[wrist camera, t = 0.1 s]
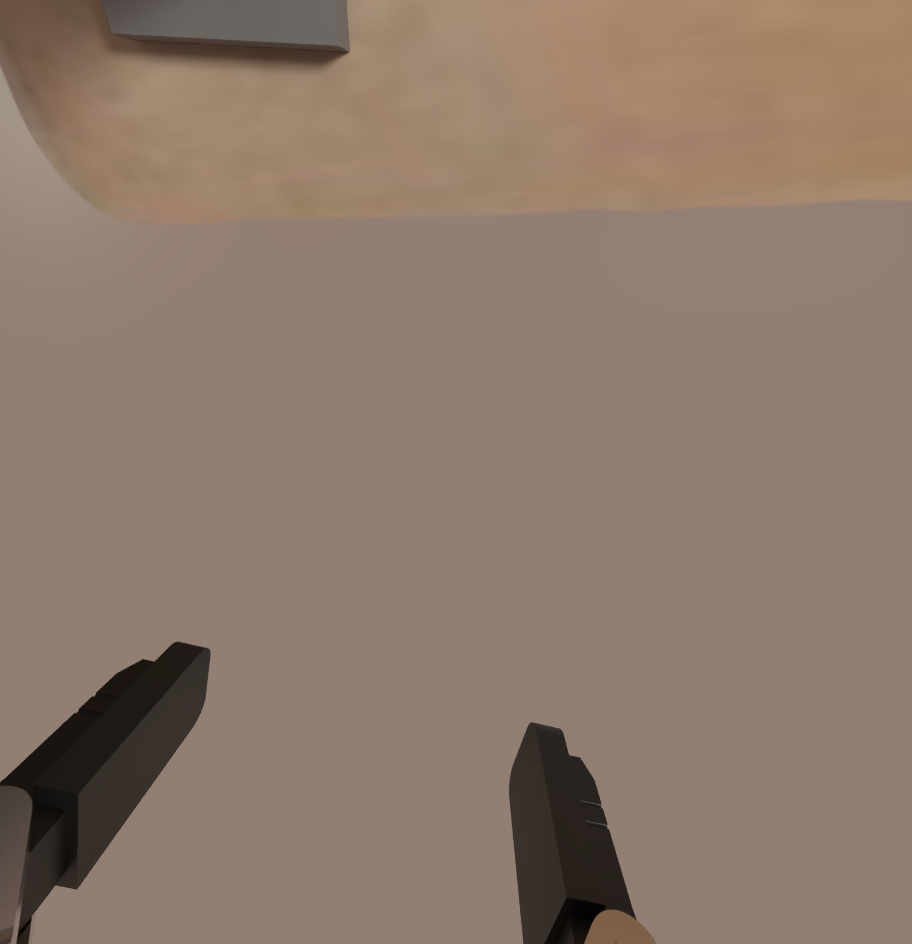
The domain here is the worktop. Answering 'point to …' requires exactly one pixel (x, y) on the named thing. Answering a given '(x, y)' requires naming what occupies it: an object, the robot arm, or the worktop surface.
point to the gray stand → (234, 22)
